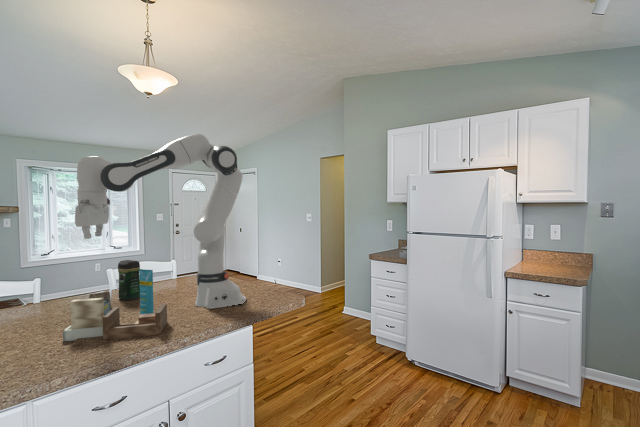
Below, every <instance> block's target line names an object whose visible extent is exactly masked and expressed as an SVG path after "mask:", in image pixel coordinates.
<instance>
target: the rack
mask: <svg viewBox="0 0 640 427" xmlns="http://www.w3.org/2000/svg"><path fill="white" fill-rule="evenodd" d="M154 313H155V320H156V323H155V324H143V325H134V324H135V323H136V322H134V323H133V322H131V323H121V322H120V321H121V320H120V306H114V307H113V308H112V309H110V311H109V312H108V313H107V314H106V315H105V316H103V317H102V318H103V336H102V340H111V339H123V338H124V339H125V338H132V337H133V338H134V337H144V336H156V335H162V332H163V331H164V329H165V327H166V326H167V325H168V303H167V302H166V303H164V302H163V303H162V304H161V305H160V306H159V308H158V309H157V310H156V312H154Z"/></svg>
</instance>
